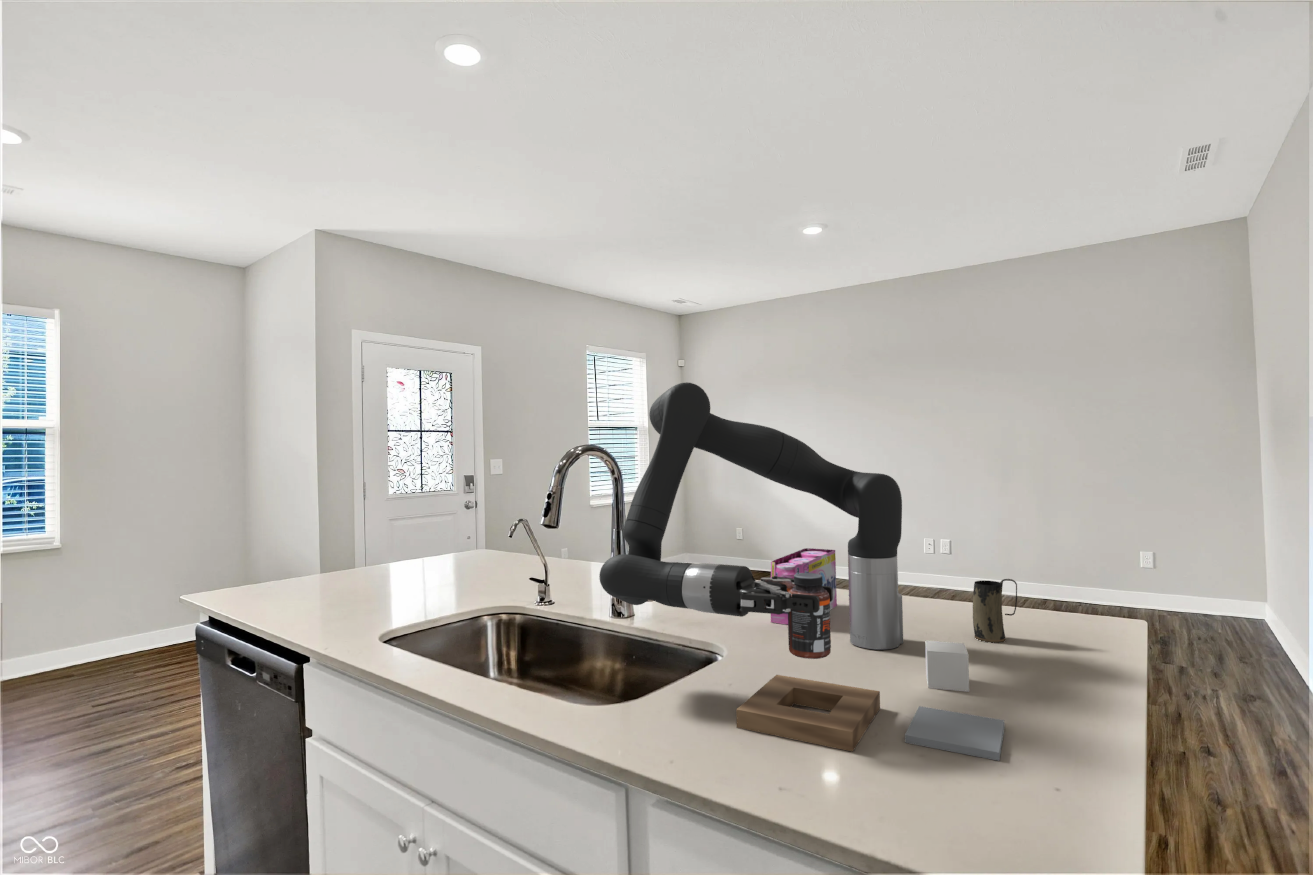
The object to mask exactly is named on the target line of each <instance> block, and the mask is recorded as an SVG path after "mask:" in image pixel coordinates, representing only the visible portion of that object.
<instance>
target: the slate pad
mask: <svg viewBox="0 0 1313 875" xmlns="http://www.w3.org/2000/svg"><path fill="white" fill-rule="evenodd" d="M1005 726H1006V725H1005V720H1004V719H1001V718H993V717H989V716H988V717H987V716H980V715H975V714H970V713H963V712H958V711H951V710H945V709H939V708H933V707H928V706H921V705H918V708H917V709H916V712H915V713H914V716H913V717H912V719H911V722H910V724H909V726H908V728H907V729H906V732H905V733H904V743H905V744H906V743H907V744H911V745H914V746H915V745H916V746H920V747H927V748H931V749H935V750H943V751H947V752H952V753H956V754H962V755H968V756H972V757H978V758H983V759H987V760H988V759H989V760H994V761H998V762H1000V760H1001V759H1000V758H1001V752H1002V748H1003V746H1002V745H1003V739H1004V734H1005Z"/></svg>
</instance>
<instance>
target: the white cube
mask: <svg viewBox="0 0 1313 875" xmlns="http://www.w3.org/2000/svg"><path fill="white" fill-rule="evenodd" d="M924 645H925V646H924V647H925V678H926V682H927V688H928V689H935V690H948V691H956V692H957V691H958V692H959V691H960V692H969V693H970V674H969V673H970V670H969V667H970V666H969V662H970V661H969V652H968V650H967V647H966V644H965V643H964V642H953V641H938V640H925V642H924Z"/></svg>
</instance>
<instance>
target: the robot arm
mask: <svg viewBox="0 0 1313 875" xmlns="http://www.w3.org/2000/svg"><path fill="white" fill-rule="evenodd" d="M648 414H649V421H650V424H651V425H652V427H653V429H654V431H656V432H657V433H658V434H659V438H658V441H657V444H656V448H655V450H654V453H653V455H652V458H651V459H650V461H649V464H648V466H647V468H646V469H645V472H644V474H643V476H642V477H641V479H640V481H639V484H638V486H637V487H636V490H635V493H634V495H633V497H632V500H631V503H630V506H629V510H628V511H627V516H626V519H625V522H624V525H623V530H622V536H623V539H624V541H625V542H626V544H627V546H628V551H627V554H626V553H625V554H621V553H620V554H617V555H614V556H612V557H610V558H608V559H607V560H606V561H605V562H604V563H603V564H602V566H601V568H600V570H599V578H598V579H599V582H600V586H601V587H602V589H603V590H604V591H605V592H606V593H607V595H609V596H610V597H613V598H616V599H618V600H620V601H622V602H624V603H627V604H629V605H632V606H640V605H643V604H645V603H647V602H648V601H654V602H655V603H658V604H661V605H663V606H667V607H672V608H681V609H688V610H694V611H698V612H702V613H708V614H709V613H710V614H716V615H717V614H718V615H724V616H733V617H740V618H741V617H746V616H747V615H748V614H749V613H758V614H770V615H771V614H777V615H780V614H783V611H785V612H790V611H792V610H795V611H804V612H813V613H816V612H818V611H819V609H820V603H819V597H818V596H814V595H804V594H792V596H791V593H789V591H790V590H791V589H793V588H794V587H795V584H794V578H785V577H777V576H774V577H772V578H771V577H761V578H760V580H756V579H755V578H754V576H753V572H752V571H751V569H750V568H749V567H748V566H746V565H738V564H737V565H735V564H723V563H722V564H721V563H710V562H709V563H707V562H701V563H690V562H675V561H674V562H672V561H671V562H670V561H663V560H662V542H663V539H664V536H665V533H666V530H667V526H668V523H669V521H670V517H671V514H672V513H671V512H672V509H673V506H674V502H675V500H676V496H677V493H678V489H679V487H680V485H681V484H680V483H681V482H682V478H683V476H684V473H685V472H686V467H687V466H688V463H689V461H690V457H691V455H692V453H693V452H694V448H695V449H698V450H700V451H701V450H702V451H704V452H707V453H710V454H713V455H714V456H717V457H719V458H721V459H723V460H726V461H728V462H729V463H732V464H734V465H736V466H739V467H741V468H743V469H745V470H748V471H751V472H752V473H754V474H756V475H758V476H761V477H763V478H765V479H767V480H770V481H771V482H774V483H777V484H780V485H783V486H785V487H788V488H791V489H794V490H797V491H800V492H803V493H808V494H809V495H810V494H811V495H812V496H813V495H814V496H816V497H818V498H820V499H822V500H823V501H826V502H827V503H829V504H831V505H833V506H834V507H836V508H838V509H840V510H841V511H843V512H844V513H846V514H848V515H849V516H851V517H855V518H857V519H858V523H857V524H858V525H857V526H858V527H857V533H856V534H855V536H854V537H852V538H850V539H849V540H848V542H847V567H848V568H847V569H848V573H847V574H848V601H849V602H848V603H849V604H848V607H849V612H848V614H849V641H850V643H851V644H852V645H854V646H856V647H860V648H863V649H869V650H891V649H895V648H898V647H900V645H901V644H904V618H903V617H904V615H903V594H901V593H899V574H898V573H899V571H898V569H899V568H898V567H899V566H898V547H899V545H900V543H901V539H902V522H903V520H902V519H903V500H902V492H901V489H900V486H899V484H898V482H897V480H896V479H894V478H893V477H892V476H890V475H888V474H884V473H876V472H875V473H874V472H863V471H862V472H861V471H856V470H852V469H850V468H846V467H843V466H840V465H838V464H835V463H833V462H830V461H828V460H826V459H825V458H824V457H823V456H821V455H820V454H818V452H816V451H815V450H814V449H813V448H812V447H810V446H809V445H807V443H805V442H803V441H801V440H800V439H798V438H796V437H794V436H791V435H790V434H787V433H785V432H783V431H781V430H778V429H775V428H772V427H769V426H765V425H760V424H755V423H749V422H741V421H734V420H731V419H725V418H723V417H720V416H717V415H715V414H713V413H711V401H710V399H709V396H708V394H707V392H706V391H705V390H704V389H703V388H702V387H701V386H700V385H697V384H696V383H693V382H681V383H676V384H675V385H673V386H671V387H669V388H667V390H666V391H665V392H663V393H661V395H659V396H658V397H657V398H656V399H655V400H654V401H653V402H652V404H651V406H650V409H649V413H648ZM823 588H824V590H826V591H827V592H828V593H829V596H830V602H831V601H832V600H833V589H832V587H830V586H823Z"/></svg>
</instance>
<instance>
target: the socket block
mask: <svg viewBox="0 0 1313 875" xmlns="http://www.w3.org/2000/svg"><path fill="white" fill-rule="evenodd" d="M793 705H797V706H802V707H808V708H814V709H819V710H825V711H829V712H828V713H826V712H825V713H824V712H820V711H813V710H811V709H810V710H808V709H803V708H797V707H793ZM880 709H881V692H880V690H876V689H868V688H863V687H855V686H850V685H843V684H837V683H831V682H825V681H824V682H823V681H819V680H813V679H806V678H800V677H793V676H787V675H782V674H776V675H775V676H773V677H771V679H770V680H769V681H767V682H766V683H765V684H764V685H763V686H761V687H760V688H759V689H758V690H757V691H755V692H754V694H752V695H751V696H750V697H749V698H748V699H746V700H745V701H744V702H743V703H742V704H740V705H739V706H738V707H737V708H736V710H735V711H736V712H735V713H736V714H735V716H736V729H737V728H738V729H743V730H746V731H752V732H756V733H760V734H766V735H770V736H771V735H772V736H774V737H775V736H776V737H780V738H786V739H791V740H796V741H800V742H804V743H810V744H814V745H818V746H823V747H828V748H834V749H838V750H844V751H848V752H854V750H855V749H856V747H857V746H858V744H859V742H860V741H861V739H862V737H864V735H865V733H866V731H867V730H868V728H869V726H870V725H871V723H872V722H873V720H874V718H875V717H876V715H877V714H878V713H879V711H880Z"/></svg>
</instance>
